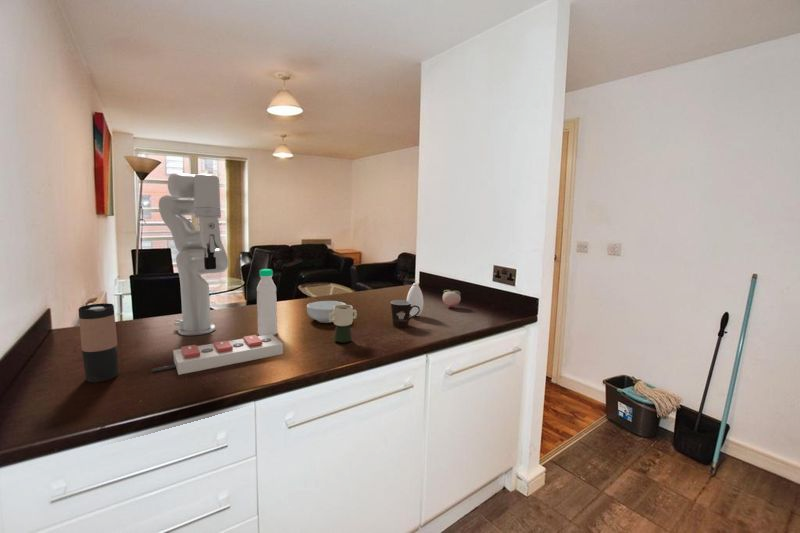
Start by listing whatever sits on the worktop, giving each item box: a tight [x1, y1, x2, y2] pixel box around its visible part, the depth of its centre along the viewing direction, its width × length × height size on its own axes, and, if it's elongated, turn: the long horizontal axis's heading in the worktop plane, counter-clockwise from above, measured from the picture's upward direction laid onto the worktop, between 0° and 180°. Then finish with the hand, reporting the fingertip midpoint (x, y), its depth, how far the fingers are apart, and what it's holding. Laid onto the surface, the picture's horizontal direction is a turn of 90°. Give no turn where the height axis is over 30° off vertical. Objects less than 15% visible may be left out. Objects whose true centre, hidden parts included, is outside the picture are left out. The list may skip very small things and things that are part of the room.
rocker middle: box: [213, 340, 233, 352], centre depth 119 cm, size 4×8×1 cm, turn 36°
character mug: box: [329, 304, 358, 343], centre depth 137 cm, size 11×7×13 cm, turn 122°
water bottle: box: [256, 268, 278, 336], centre depth 142 cm, size 7×7×25 cm
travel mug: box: [78, 302, 120, 383], centre depth 103 cm, size 8×8×20 cm
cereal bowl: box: [306, 300, 347, 324], centre depth 164 cm, size 17×17×7 cm
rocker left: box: [180, 344, 200, 358], centre depth 114 cm, size 4×8×1 cm, turn 36°
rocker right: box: [242, 334, 262, 347], centre depth 124 cm, size 4×8×1 cm, turn 36°
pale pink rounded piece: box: [442, 289, 462, 309], centre depth 191 cm, size 9×8×10 cm
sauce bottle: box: [406, 278, 424, 317], centre depth 173 cm, size 8×8×18 cm
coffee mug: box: [390, 299, 420, 329], centre depth 158 cm, size 12×9×10 cm
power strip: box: [151, 334, 284, 376], centre depth 119 cm, size 36×12×4 cm, turn 126°
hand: (210, 268), depth 125 cm, fingers closed
